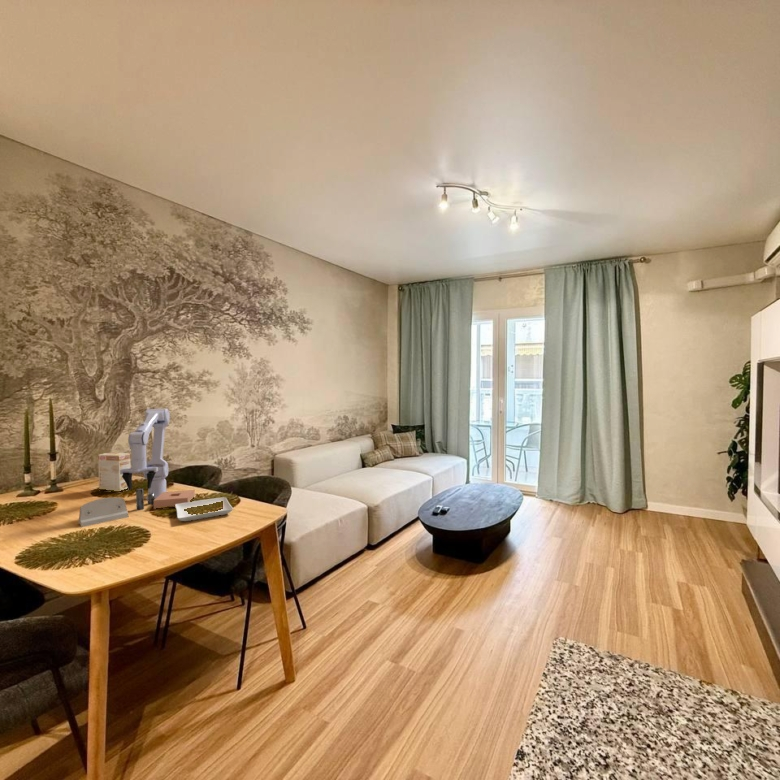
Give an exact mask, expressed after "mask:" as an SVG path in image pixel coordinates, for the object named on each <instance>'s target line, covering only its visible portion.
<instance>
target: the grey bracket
mask: <svg viewBox="0 0 780 780" xmlns="http://www.w3.org/2000/svg"><path fill="white" fill-rule="evenodd" d="M125 518H129V512H128V509H127V504H126V501H125V499H124V498H123V497H113V496H112V497H102V498H97V499H94V500H91V501H90V502H89V501H88V502H86V503H84V504H82V505H80V507H79V517H78V525H80V527H81V528H85V527H88V526H93V525H94V526H95V525H98V524H102V523H107V522H112V521H116V520H120V519H125Z"/></svg>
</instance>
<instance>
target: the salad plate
mask: <svg viewBox="0 0 780 780" xmlns="http://www.w3.org/2000/svg"><path fill="white" fill-rule="evenodd" d="M221 501H223V509H221V510H218V511H215V512H208V513H203V514H198V515H196V514H193V515H191V514H188V512H187V511H184V509H187V508H191V507H197V506H203V505H209V504H213V503H216V502H221ZM175 509H176V518H177V520H179V521H181V522H191V520H193V521H197V519H198V520H204V519H209V518H208V517H210V518H215V517H220V516H219V515H221V516H223V515H227V514H230V513H231V512H233V510H234V508H233V506H232V505H231V504H230V502H229V500H228V498H227V497H226V496H225V497H224V496H222V497H215V498H214V497H213V498H209V499H201V500H194V501H192V502H186V503H180V504H175ZM214 516H215V517H214ZM203 518H204V519H203Z"/></svg>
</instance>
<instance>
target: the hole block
mask: <svg viewBox="0 0 780 780" xmlns="http://www.w3.org/2000/svg"><path fill="white" fill-rule="evenodd" d="M195 494H196V493H195V489H189V490H188V489H187V490H186V489H185V490H174V491H167V492H163V493H161V494H160V495H159V496H158V497H157V498H155V500H153V501H154V504H153V510H157V509H156V508H161V507H167V506H174V505H175V504H180V503H186V502H190V500H191V499H192V498H193V497H194V496H195ZM195 497H196V496H195Z"/></svg>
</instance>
